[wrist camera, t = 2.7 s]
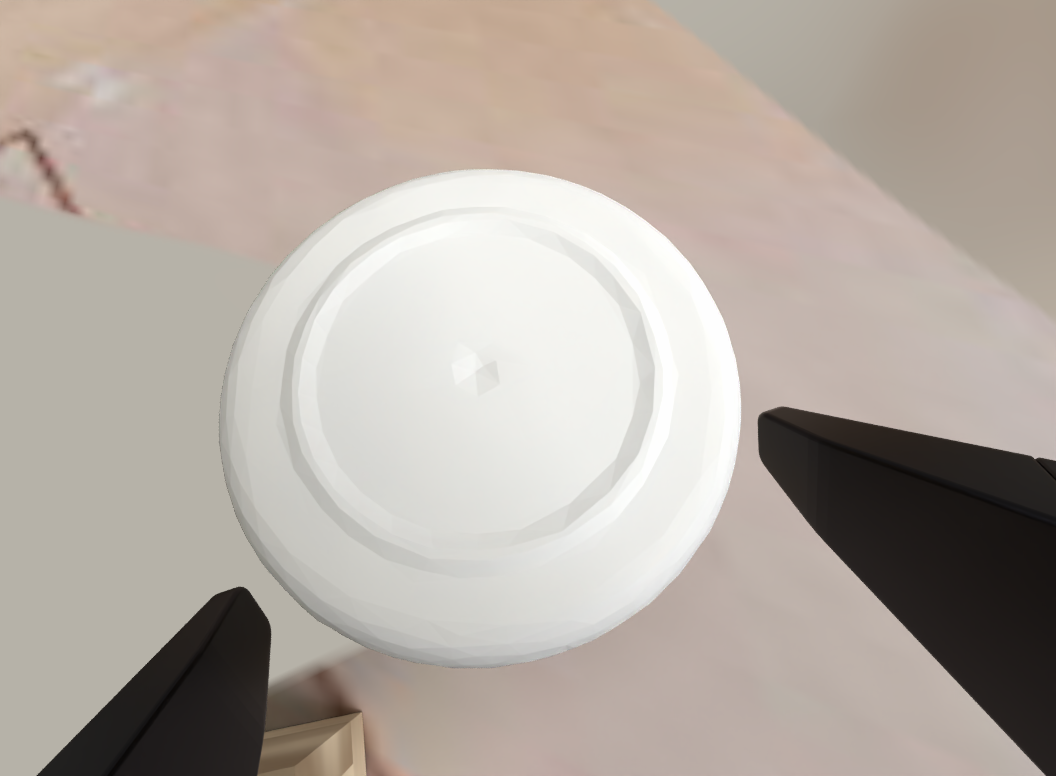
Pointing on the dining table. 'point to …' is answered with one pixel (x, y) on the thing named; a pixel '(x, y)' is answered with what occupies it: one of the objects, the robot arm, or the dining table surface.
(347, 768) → the beech holder
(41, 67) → the dining table surface
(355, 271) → the sprinkles bottle
